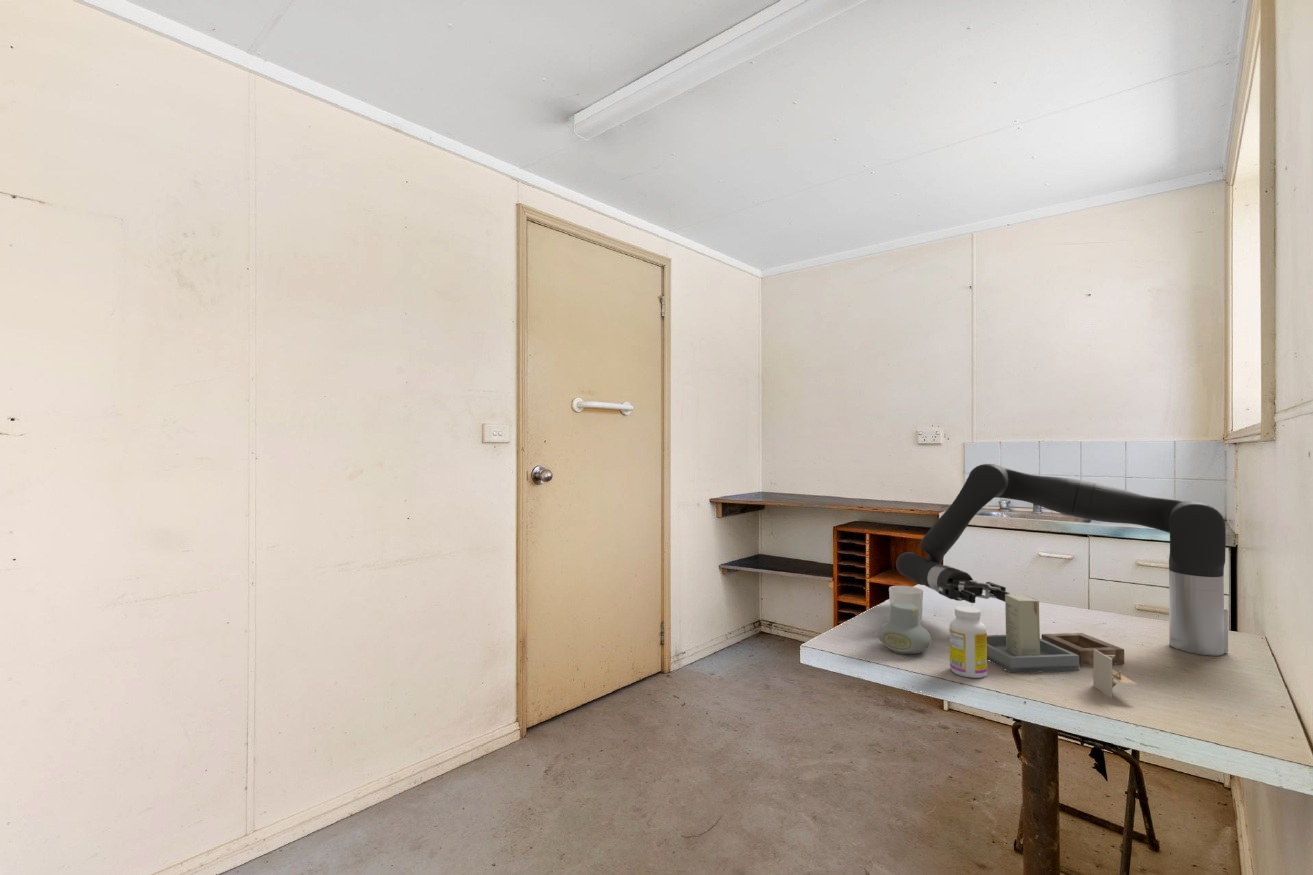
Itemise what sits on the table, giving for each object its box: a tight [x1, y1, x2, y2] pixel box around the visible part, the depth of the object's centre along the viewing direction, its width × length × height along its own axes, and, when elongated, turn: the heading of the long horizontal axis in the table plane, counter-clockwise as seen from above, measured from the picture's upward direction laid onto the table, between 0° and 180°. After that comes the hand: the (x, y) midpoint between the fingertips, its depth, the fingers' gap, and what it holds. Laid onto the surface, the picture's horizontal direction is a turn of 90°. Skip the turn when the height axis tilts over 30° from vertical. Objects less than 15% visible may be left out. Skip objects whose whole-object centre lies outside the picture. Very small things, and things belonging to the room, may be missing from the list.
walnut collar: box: [1041, 632, 1125, 666], centre depth 131 cm, size 10×11×3 cm
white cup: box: [888, 585, 924, 626], centre depth 149 cm, size 8×8×10 cm
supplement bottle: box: [949, 605, 988, 679], centre depth 121 cm, size 7×7×13 cm
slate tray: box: [987, 634, 1080, 674], centre depth 128 cm, size 15×14×3 cm
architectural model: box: [1093, 649, 1137, 698], centre depth 111 cm, size 3×7×7 cm, turn 172°
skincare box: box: [1004, 593, 1041, 656], centre depth 129 cm, size 6×4×12 cm
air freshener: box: [878, 602, 932, 655], centre depth 134 cm, size 11×8×10 cm
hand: (991, 598), depth 138 cm, fingers open, 8 cm apart
